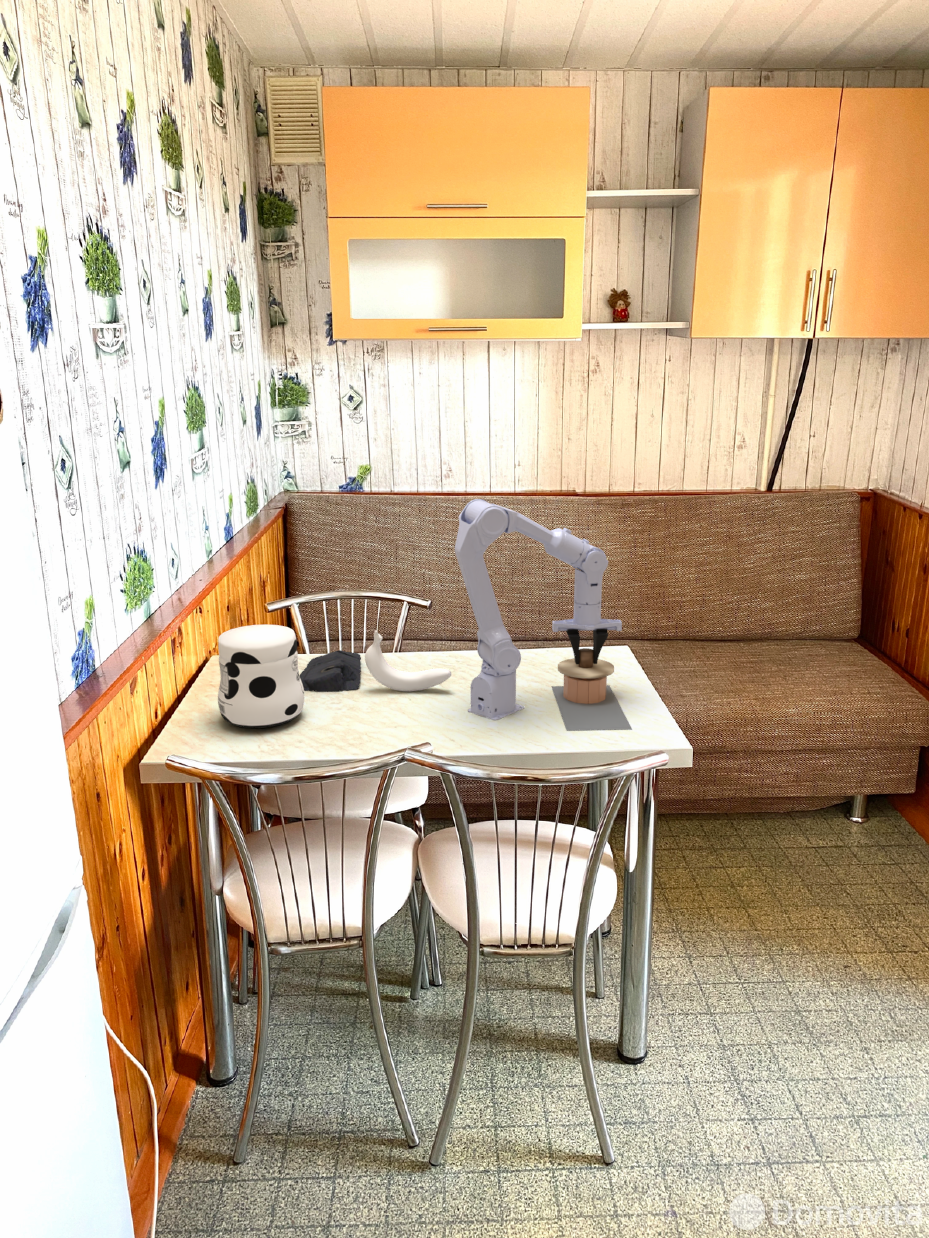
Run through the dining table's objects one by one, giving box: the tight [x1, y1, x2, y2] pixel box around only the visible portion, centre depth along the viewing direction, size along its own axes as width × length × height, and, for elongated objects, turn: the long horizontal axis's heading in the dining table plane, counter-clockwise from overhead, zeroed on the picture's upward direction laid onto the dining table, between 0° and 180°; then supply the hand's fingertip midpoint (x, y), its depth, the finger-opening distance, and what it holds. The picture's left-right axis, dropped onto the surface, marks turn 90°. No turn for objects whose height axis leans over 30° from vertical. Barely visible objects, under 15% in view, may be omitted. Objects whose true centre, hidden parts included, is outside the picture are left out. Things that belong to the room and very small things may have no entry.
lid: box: [557, 648, 615, 678], centre depth 198 cm, size 12×12×4 cm
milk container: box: [217, 624, 305, 729], centre depth 189 cm, size 17×17×18 cm
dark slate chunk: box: [299, 650, 362, 693], centre depth 216 cm, size 15×22×5 cm
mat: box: [551, 684, 633, 732], centre depth 195 cm, size 25×13×1 cm, turn 2°
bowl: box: [563, 674, 608, 704], centre depth 200 cm, size 9×9×5 cm
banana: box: [364, 630, 452, 692], centre depth 204 cm, size 5×19×15 cm, turn 90°
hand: (585, 662), depth 199 cm, fingers closed on lid, 3 cm apart
